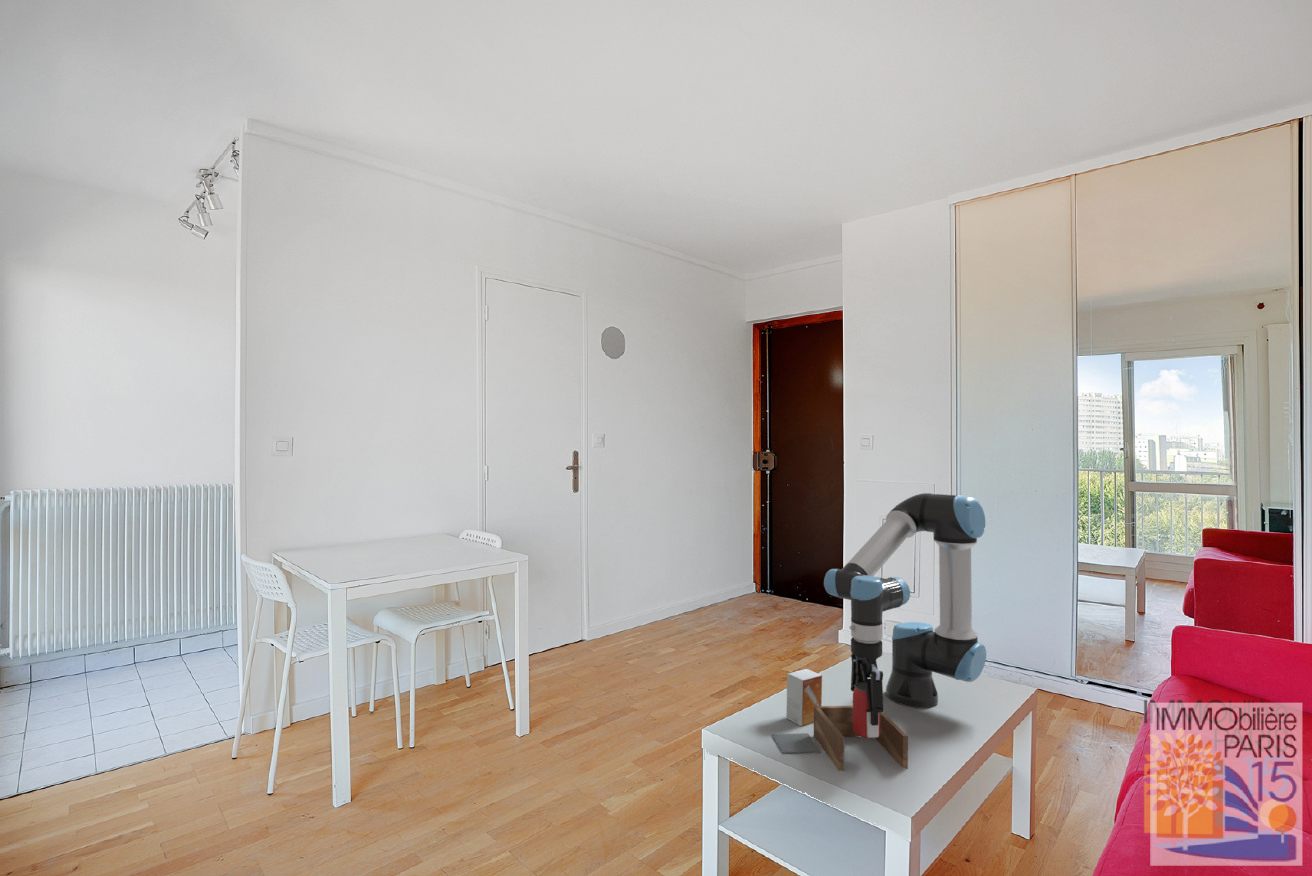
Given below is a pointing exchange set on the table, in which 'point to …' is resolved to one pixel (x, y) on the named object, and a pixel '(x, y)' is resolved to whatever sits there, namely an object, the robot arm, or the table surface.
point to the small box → (803, 695)
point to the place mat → (796, 743)
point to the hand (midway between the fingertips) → (866, 729)
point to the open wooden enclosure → (839, 724)
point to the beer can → (861, 711)
